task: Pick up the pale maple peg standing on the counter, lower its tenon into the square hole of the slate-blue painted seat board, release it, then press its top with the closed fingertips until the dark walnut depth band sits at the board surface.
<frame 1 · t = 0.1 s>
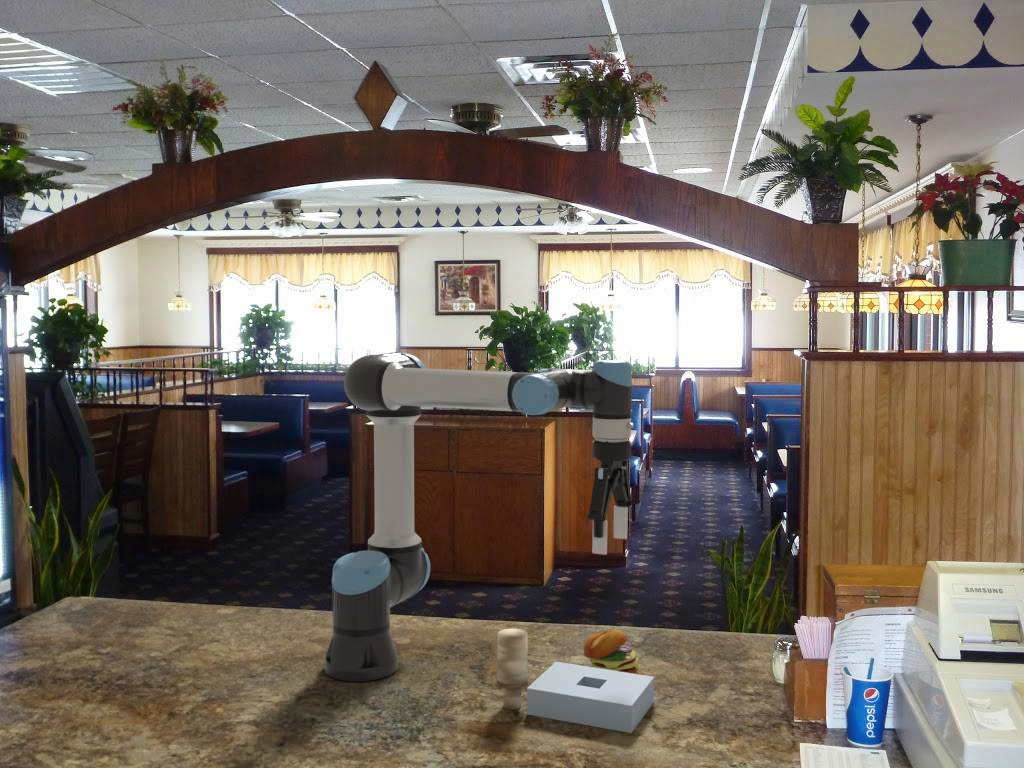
hand: (610, 545, 199), 28 cm above the countertop, fingers open, 13 cm apart
cheeseburger: (611, 673, 207), on the countertop
peg: (512, 705, 190), on the countertop
board: (591, 708, 189), on the countertop
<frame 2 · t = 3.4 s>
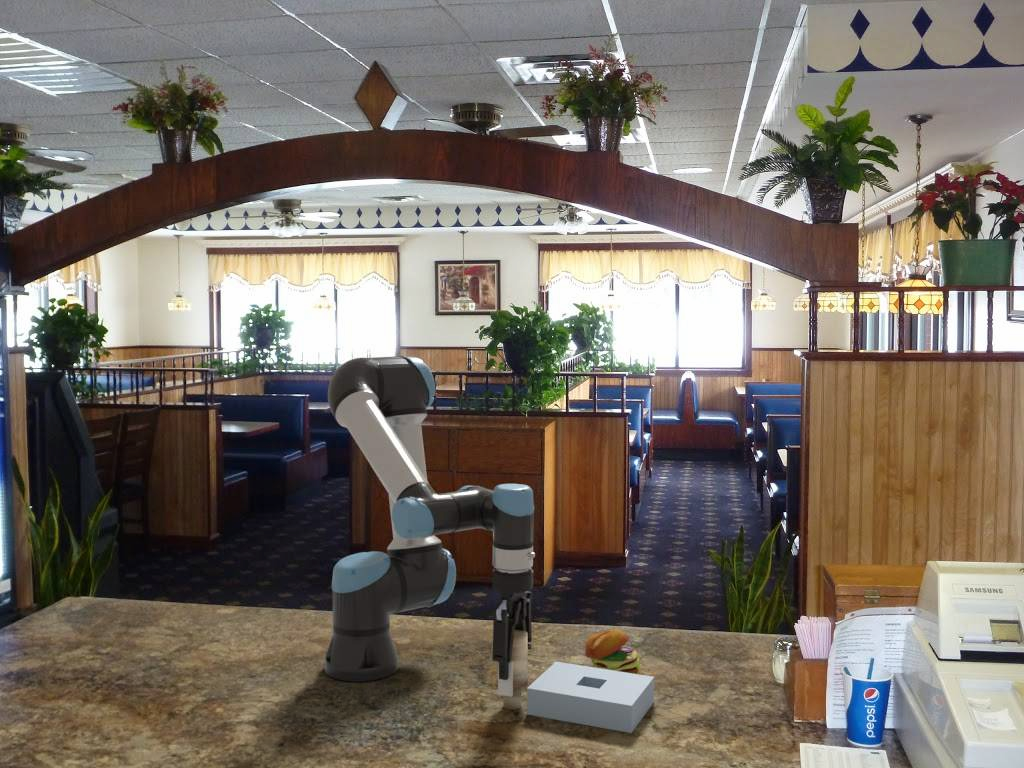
hand: (512, 688, 190), 3 cm above the countertop, fingers closed on peg, 6 cm apart
peg: (512, 705, 190), on the countertop, touching gripper
everything else where it was.
when the fingers open (7 cm above the countertop, at t = 8.4 s): peg drops 3 cm, resting on board.
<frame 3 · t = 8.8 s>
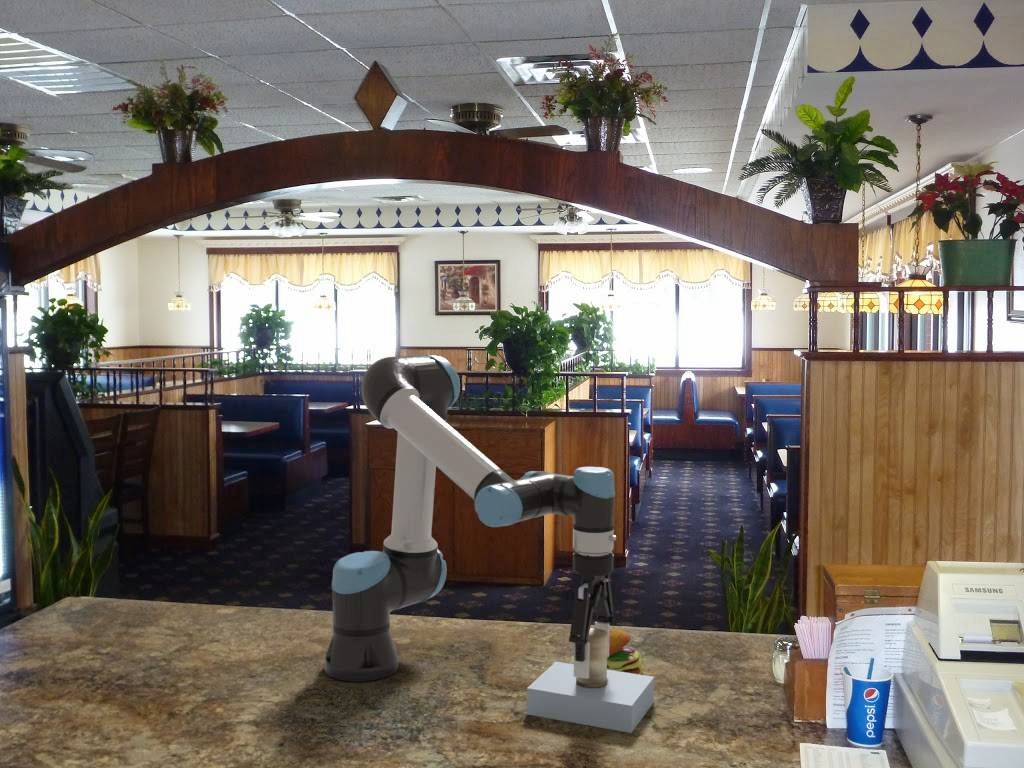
hand: (591, 666, 188), 8 cm above the countertop, fingers open, 11 cm apart
peg: (591, 705, 189), resting on board
everything else where it was.
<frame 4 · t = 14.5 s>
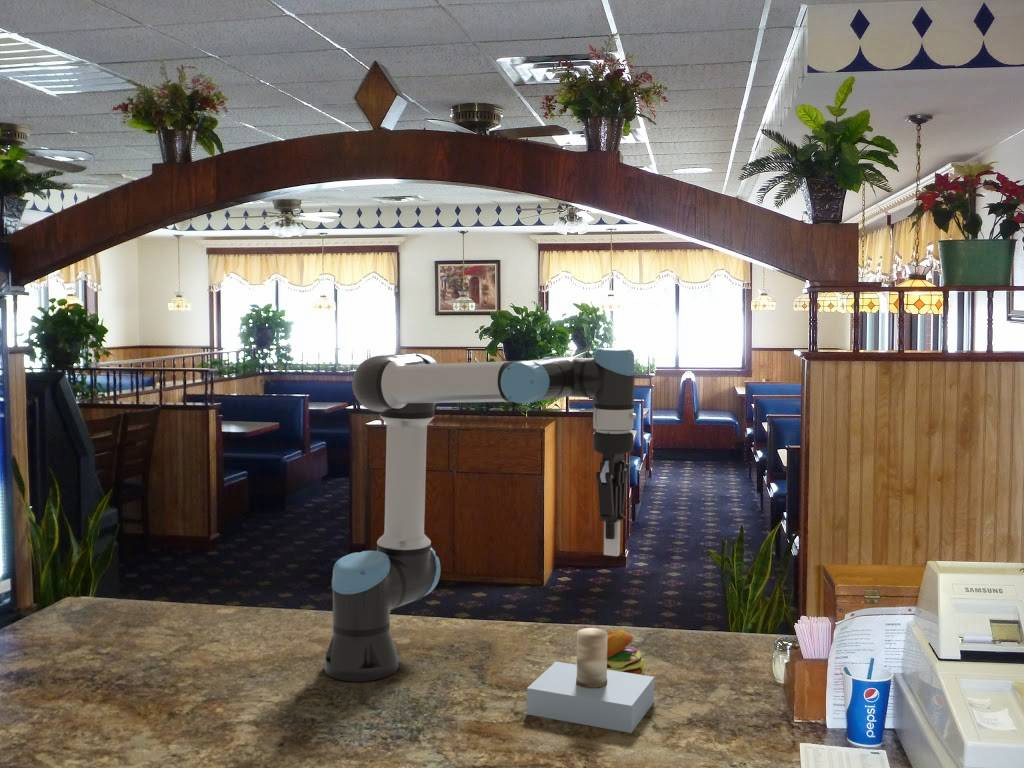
hand: (611, 554, 191), 28 cm above the countertop, fingers closed
at the end: peg 0.0 cm off-centre on the board, point 0.5 cm above the board's base; peg tilted 0°; the gripper is holding nothing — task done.
